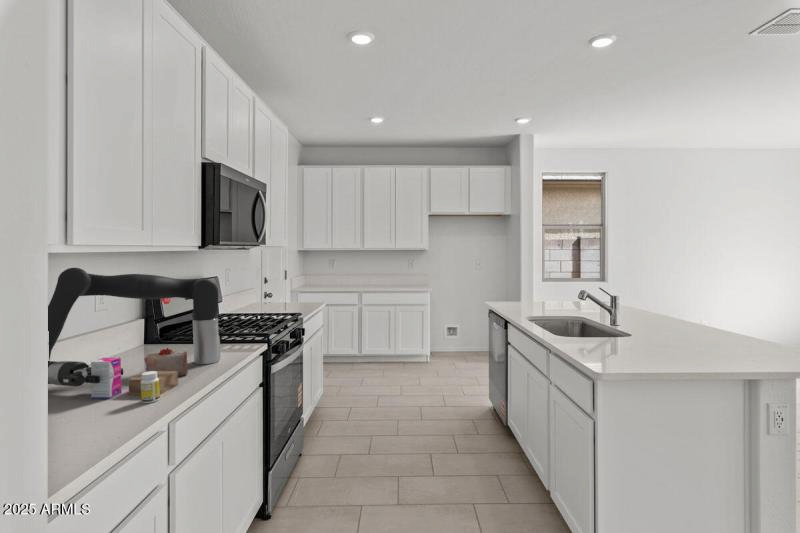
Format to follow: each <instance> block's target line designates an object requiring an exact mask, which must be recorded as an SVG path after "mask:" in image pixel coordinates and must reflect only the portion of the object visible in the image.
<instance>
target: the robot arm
mask: <svg viewBox="0 0 800 533" xmlns="http://www.w3.org/2000/svg"><path fill="white" fill-rule="evenodd" d="M87 296H89V297H90V296H91V297H92V296H94V297H95V296H107V297H108V296H109V297H115V298H116V297H117V298H125V299H138V300H140V299H141V300H163V299H171V298H179V299H180V298H181V299H190V300H192V307H193V308H192V335H193V338H192V340H193V360H194V361H193V363H194V364H195V365H211V364H214V363H218V362H220V360H221V338H220V337H221V336H220V335H219V306H220V305H219V289H218V285H217V283H216V282H215V281H213V280H211V279H209V278H190V279H189V278H188V279H187V278H186V279H184V278H182V279H181V278H173V277H168V276H162V275H156V274H155V275H154V274H144V273H143V274H142V273H126V274H116V275H115V274H114V275H102V274H94V273H89V272H86V271H85V270H84V269H83V268H80V267H70V268H66V269H64V270H62V271H61V273H60V274H59V275H58V277H57V283H56V285H55V289H54V291H53V294H52V297H51V298H50V302H49V304H47V307H48V331H49V361H48V384H47V385H54V386H62V387H63V386H64V387H80V386H82V385H87V384H91V383H96V384H97V383H100V376H97V375H91V366H89V364H87V363H86V362H84V361H71V360H69V361H68V360H60V361H53V360H52V361H51V355H52V354H51V353H52V350H53V349H54V346H55V345H56V343H57V341H58V339H59V338H60V335H61V333H62V331H63V329H64V327H65V326H64V325H65V324H66V322H67V321H66V320H67V318H68V316H69V314H70V312H71V310H72V308H73V307H74V305H75V303H76V301H77V300H78V299H79V298H80V297H87ZM123 375H124V368H122V367H121V376H123Z"/></svg>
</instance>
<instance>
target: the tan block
mask: <svg viewBox="0 0 800 533" xmlns="http://www.w3.org/2000/svg"><path fill="white" fill-rule="evenodd" d="M148 372H149V371H148ZM156 372H157V378H158V379H159V391H160V396H161V395H162V394H165V393H167V392H169V391H170V390H173V389H174V388H176V387H178V386H179V376H178V371H156ZM141 380H143V379H142V373H141V374H138V375H136V376H134V377H131V378H129V379H128V395H129V396H130V395H131V396H141Z"/></svg>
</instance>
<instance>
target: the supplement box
mask: <svg viewBox="0 0 800 533" xmlns="http://www.w3.org/2000/svg"><path fill="white" fill-rule="evenodd" d="M121 360H122V358H121V357H101V358H99V359H96V360H92V361H90V367H91V375H97V376H100V383H97V384H96V383H90V384H91V400H111V399H112V398H114V397H116V396H119V395H120V394H122V375H121V368H122V361H121Z"/></svg>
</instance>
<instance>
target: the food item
mask: <svg viewBox="0 0 800 533" xmlns="http://www.w3.org/2000/svg"><path fill="white" fill-rule="evenodd" d="M144 362H145V372H148V371H178V377H185V376H187V375H188V371H189V370H188V351H185V350H179V351H173V350H172V349H170V348H169V347H168V346H167V347H166V348H163V349H161V350H159V352H158V353H157V352H156V353H150V354H147V355H146V356H145V357H144Z"/></svg>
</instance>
